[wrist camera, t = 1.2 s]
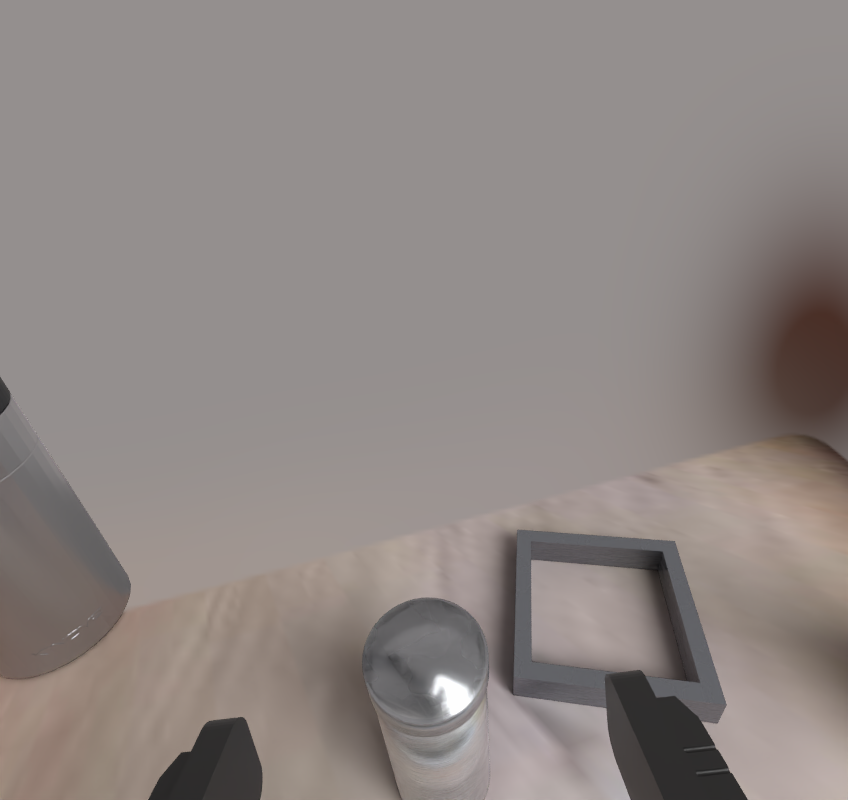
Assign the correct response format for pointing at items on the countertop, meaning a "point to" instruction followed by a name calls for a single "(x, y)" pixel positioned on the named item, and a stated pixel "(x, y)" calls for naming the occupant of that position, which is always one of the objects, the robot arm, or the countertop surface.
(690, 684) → the collar
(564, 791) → the countertop surface
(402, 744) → the lidded metal canister
